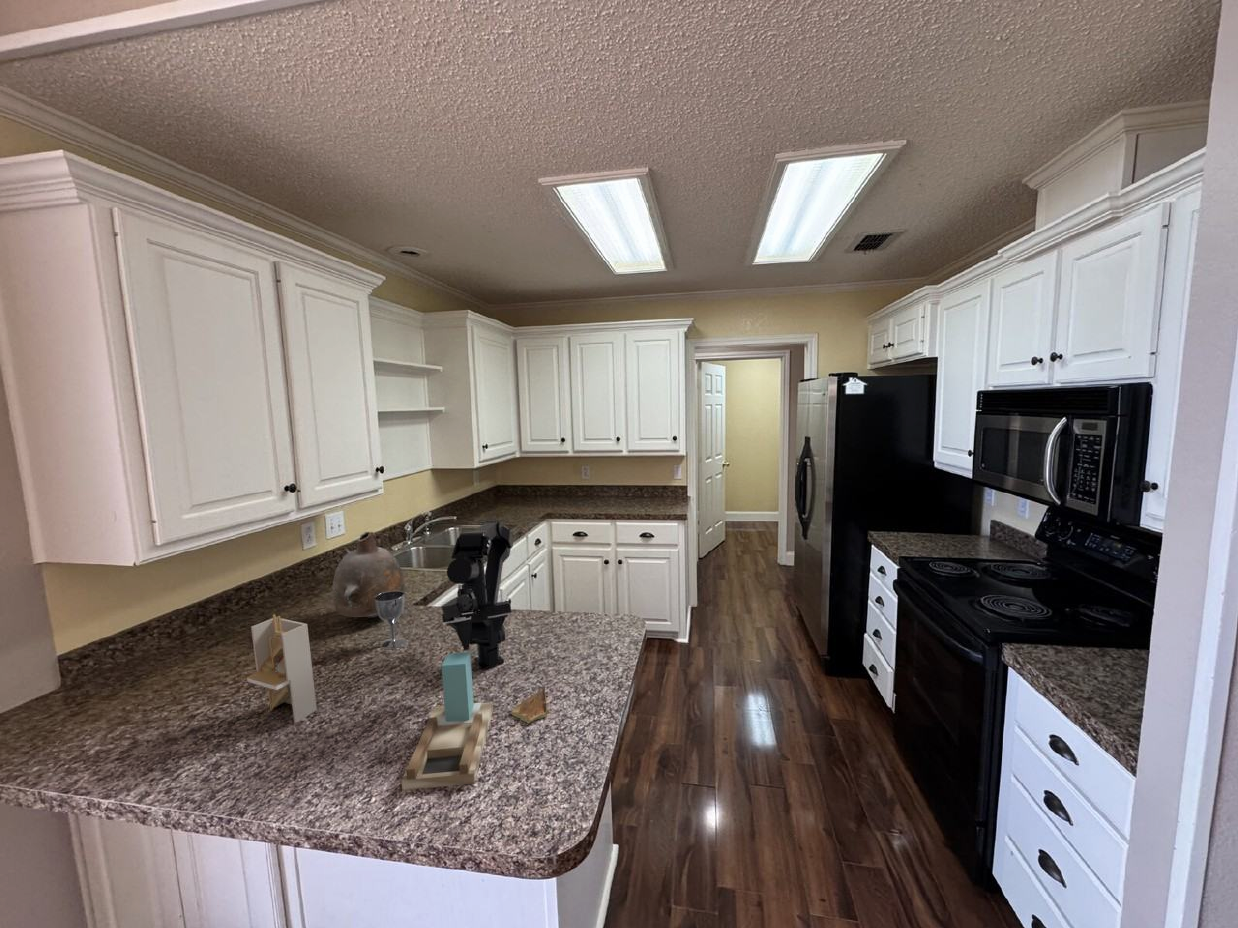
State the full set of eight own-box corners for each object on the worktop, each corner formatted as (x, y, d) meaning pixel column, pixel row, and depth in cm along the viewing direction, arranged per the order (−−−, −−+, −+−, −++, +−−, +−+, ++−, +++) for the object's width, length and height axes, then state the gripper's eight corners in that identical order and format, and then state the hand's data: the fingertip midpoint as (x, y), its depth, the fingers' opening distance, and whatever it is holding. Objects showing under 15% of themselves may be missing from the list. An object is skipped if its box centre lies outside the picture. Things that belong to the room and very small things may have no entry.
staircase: (284, 701, 119) (272, 601, 116) (317, 711, 115) (305, 608, 111) (249, 720, 112) (236, 615, 108) (283, 732, 107) (270, 623, 104)
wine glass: (407, 646, 144) (403, 598, 142) (377, 652, 141) (373, 602, 139) (408, 635, 151) (404, 588, 149) (380, 640, 148) (375, 593, 146)
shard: (544, 692, 120) (544, 686, 120) (567, 703, 115) (567, 696, 115) (510, 715, 111) (509, 708, 111) (533, 728, 107) (533, 721, 107)
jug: (341, 609, 171) (332, 526, 167) (407, 598, 179) (400, 519, 176) (330, 640, 149) (320, 545, 145) (406, 626, 157) (398, 535, 153)
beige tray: (435, 714, 112) (433, 698, 111) (492, 709, 113) (491, 693, 112) (402, 790, 90) (400, 770, 89) (474, 783, 91) (472, 763, 91)
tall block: (451, 707, 111) (447, 653, 109) (473, 705, 111) (470, 652, 110) (445, 721, 106) (441, 665, 104) (469, 719, 106) (465, 663, 105)
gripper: (421, 591, 119) (425, 658, 115) (472, 581, 109) (479, 654, 106) (458, 586, 128) (464, 648, 124) (509, 576, 118) (516, 643, 115)
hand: (479, 648), depth 117 cm, fingers open, 9 cm apart
